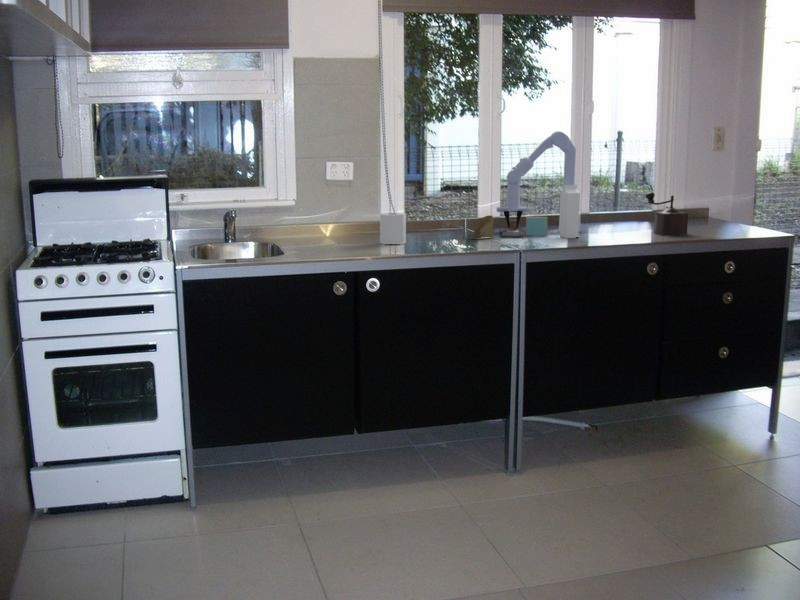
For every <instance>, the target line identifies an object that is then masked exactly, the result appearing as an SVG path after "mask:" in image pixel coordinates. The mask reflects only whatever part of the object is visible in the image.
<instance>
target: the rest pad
mask: <svg viewBox="0 0 800 600" xmlns="http://www.w3.org/2000/svg"><path fill="white" fill-rule="evenodd" d="M524 235H525V232H524V231H518V232H507V231H503V232H502V234H501V238H502V237H513V238H512V239H524ZM521 237H522V238H521Z"/></svg>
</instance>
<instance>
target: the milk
mask: <svg viewBox="0 0 800 600" xmlns="http://www.w3.org/2000/svg"><path fill="white" fill-rule="evenodd" d="M559 196H560V197H559V198H560V199H559V216H560V227H559V226H558V229H559V232H558V236H560V237H559V238H562V237H564V238H563V239H566V238H569V239H577V238H576V237H580V232H579V214H580V212H581V210H580V209H581V207H580V205H581V204H580V203H581V192H580V191H579V190H578V185H577V184H574V185H564V189H563V188H562V190H561V191H560V195H559Z"/></svg>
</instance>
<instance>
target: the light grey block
mask: <svg viewBox="0 0 800 600" xmlns="http://www.w3.org/2000/svg"><path fill="white" fill-rule="evenodd" d="M406 216H407V214H406V213H404V212H383V213H380V214H379V231H380V232H379V234H380V235H379V240H380V241H379V244H381V243H382V244H381V245H385V244H400V245H405V244H406V243H407V223H406V222H407V217H406ZM404 243H405V244H404Z"/></svg>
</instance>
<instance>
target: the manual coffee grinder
mask: <svg viewBox="0 0 800 600" xmlns="http://www.w3.org/2000/svg"><path fill="white" fill-rule="evenodd" d="M644 195H645V199H647V204H651V205H656V206H657V205H658V206H659V205H663V204H667V203H670V206H669V207H668V206H666V208H665V209H663V210H660V211H655V212H654V223H653V234H656V235H660V234H661V235H660V236H665V235H675V236H680V235H679V234H687V235H688V221H689V220H688V219H689V214H688V212H682V211H680V210H679V209H677V208H674V206H673V205H674V201H675V198H674V197H675V196H674V195H671V196H670V198H669V199H668V200H666V201H660V202H655V199H654V198H655V192H652V191H649V192H647V193H645V194H644Z"/></svg>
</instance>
